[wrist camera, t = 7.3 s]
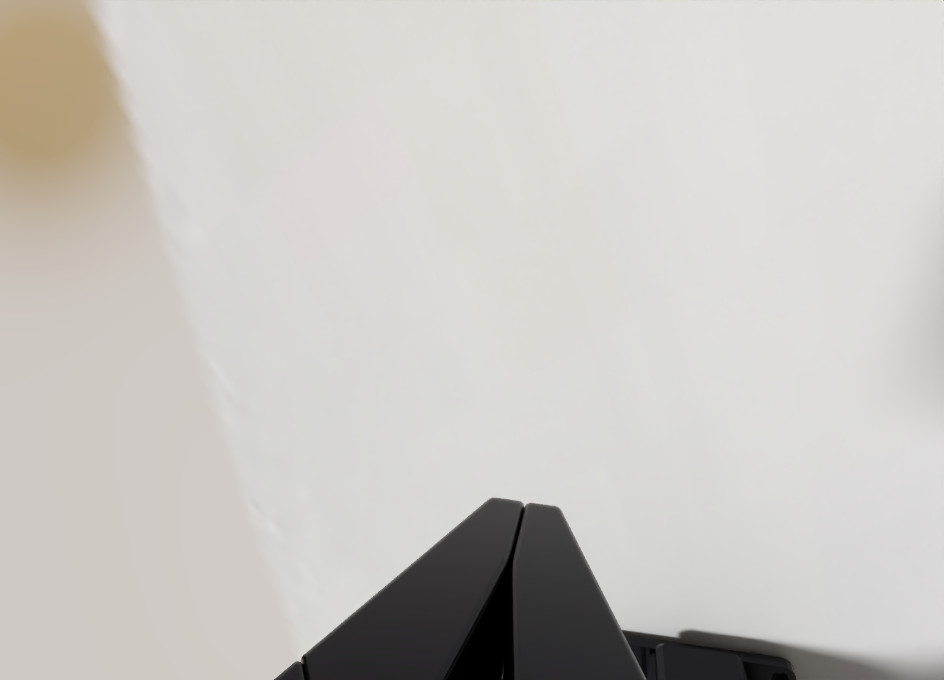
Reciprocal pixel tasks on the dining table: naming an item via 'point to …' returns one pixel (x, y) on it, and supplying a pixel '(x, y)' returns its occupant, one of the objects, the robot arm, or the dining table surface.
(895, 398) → the dining table surface
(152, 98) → the dining table surface
